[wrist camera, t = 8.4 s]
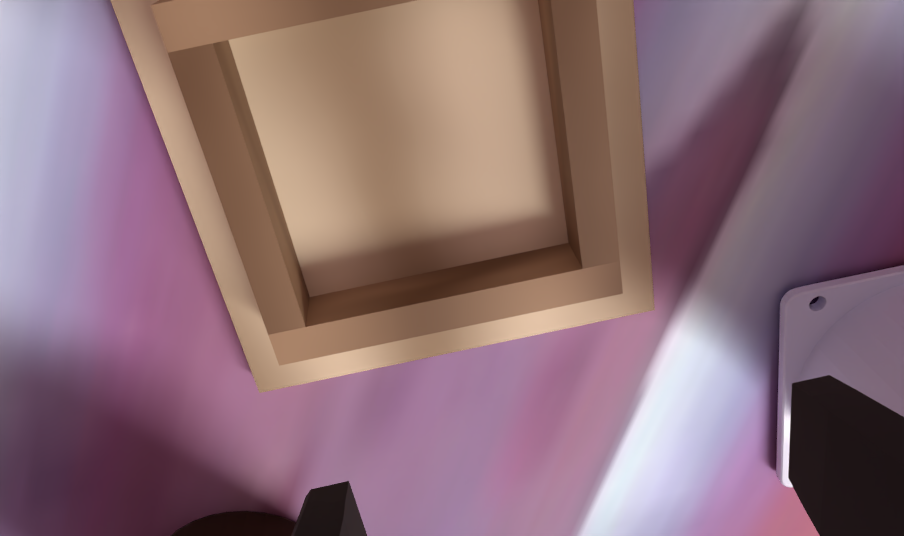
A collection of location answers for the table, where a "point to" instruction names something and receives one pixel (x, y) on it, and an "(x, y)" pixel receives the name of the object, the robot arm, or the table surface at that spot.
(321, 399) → the table surface
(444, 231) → the jug board
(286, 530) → the coffee mug
